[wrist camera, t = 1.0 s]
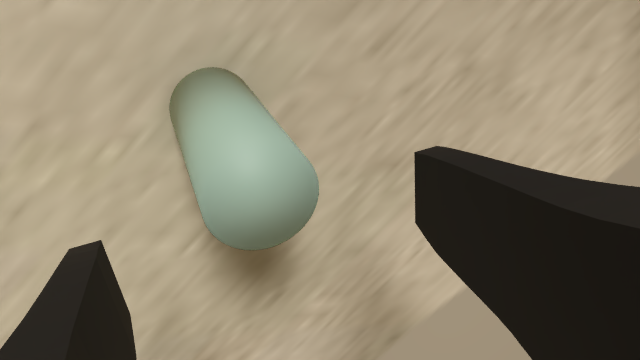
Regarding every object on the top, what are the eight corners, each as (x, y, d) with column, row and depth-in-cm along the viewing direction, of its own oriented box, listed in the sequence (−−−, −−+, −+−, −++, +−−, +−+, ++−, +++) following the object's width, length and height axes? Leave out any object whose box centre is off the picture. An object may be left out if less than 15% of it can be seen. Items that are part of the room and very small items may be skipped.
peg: (249, 63, 18) (317, 134, 12) (256, 140, 20) (319, 236, 14) (163, 72, 17) (193, 153, 11) (176, 152, 19) (208, 261, 13)
